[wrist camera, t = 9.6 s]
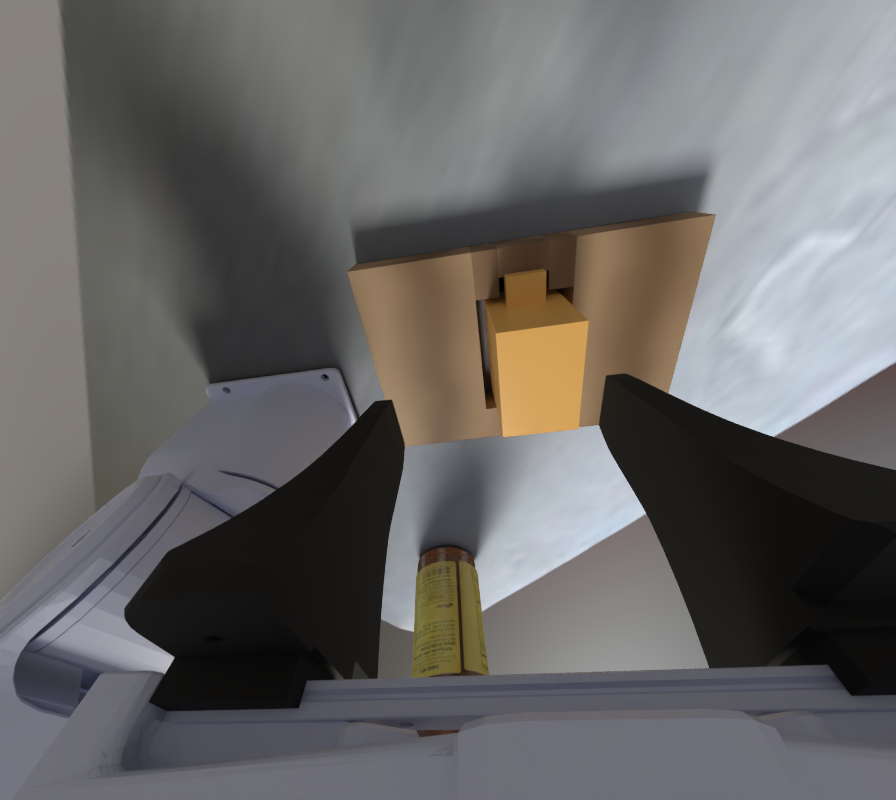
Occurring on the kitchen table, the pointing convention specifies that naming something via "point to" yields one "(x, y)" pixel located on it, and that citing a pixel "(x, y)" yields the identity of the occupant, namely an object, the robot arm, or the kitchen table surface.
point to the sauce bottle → (448, 619)
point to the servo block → (535, 356)
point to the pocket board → (568, 267)
